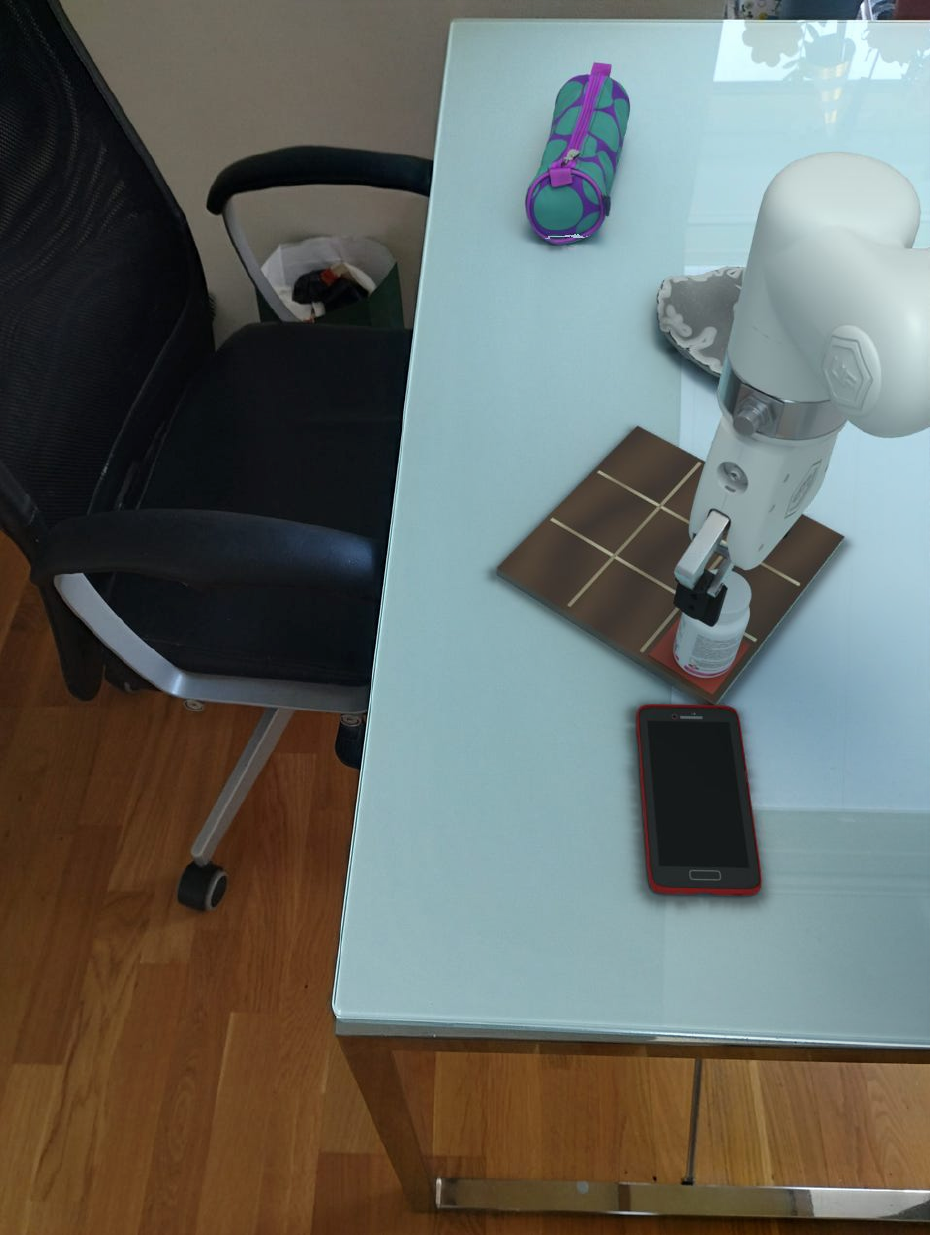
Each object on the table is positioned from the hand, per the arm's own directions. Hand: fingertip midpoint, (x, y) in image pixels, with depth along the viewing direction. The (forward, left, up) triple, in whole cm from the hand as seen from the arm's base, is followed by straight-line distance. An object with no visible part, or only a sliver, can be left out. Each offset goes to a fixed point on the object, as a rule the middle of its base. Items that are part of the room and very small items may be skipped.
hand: (732, 569), depth 74 cm
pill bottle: (0, 0, -11) cm, 11 cm away
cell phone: (-6, +10, -12) cm, 17 cm away
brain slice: (+15, -35, -12) cm, 40 cm away
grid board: (+7, -7, -12) cm, 16 cm away
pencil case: (+44, -45, -12) cm, 64 cm away
